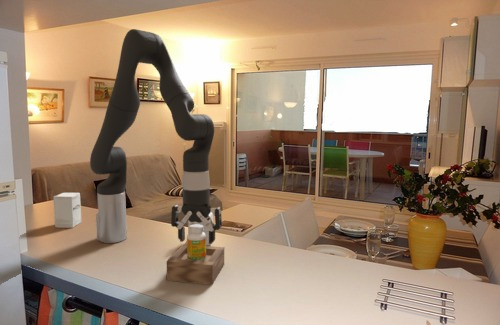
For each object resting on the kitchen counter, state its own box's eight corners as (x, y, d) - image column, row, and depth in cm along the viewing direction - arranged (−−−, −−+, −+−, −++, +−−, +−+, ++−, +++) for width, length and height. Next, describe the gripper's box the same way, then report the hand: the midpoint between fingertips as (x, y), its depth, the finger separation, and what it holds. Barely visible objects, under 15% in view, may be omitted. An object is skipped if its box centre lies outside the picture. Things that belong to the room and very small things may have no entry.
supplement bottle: (190, 263, 101) (190, 230, 99) (184, 257, 105) (184, 224, 104) (208, 260, 103) (208, 227, 102) (202, 253, 108) (202, 222, 107)
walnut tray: (167, 280, 100) (166, 261, 99) (183, 261, 112) (183, 244, 111) (212, 284, 97) (212, 265, 97) (224, 264, 110) (224, 247, 109)
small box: (213, 240, 131) (213, 211, 129) (210, 245, 125) (210, 216, 124) (192, 239, 131) (191, 211, 130) (188, 244, 126) (187, 215, 124)
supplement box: (73, 228, 142) (71, 196, 140) (54, 227, 142) (52, 196, 140) (82, 222, 149) (80, 192, 148) (64, 222, 150) (62, 192, 148)
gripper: (166, 187, 99) (168, 244, 101) (217, 190, 96) (217, 248, 99) (176, 182, 106) (177, 235, 108) (224, 184, 104) (224, 239, 106)
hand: (196, 241), depth 104 cm, fingers open, 8 cm apart
